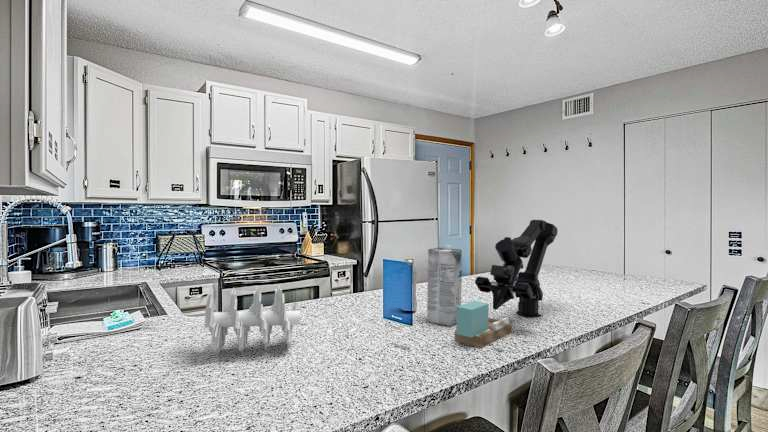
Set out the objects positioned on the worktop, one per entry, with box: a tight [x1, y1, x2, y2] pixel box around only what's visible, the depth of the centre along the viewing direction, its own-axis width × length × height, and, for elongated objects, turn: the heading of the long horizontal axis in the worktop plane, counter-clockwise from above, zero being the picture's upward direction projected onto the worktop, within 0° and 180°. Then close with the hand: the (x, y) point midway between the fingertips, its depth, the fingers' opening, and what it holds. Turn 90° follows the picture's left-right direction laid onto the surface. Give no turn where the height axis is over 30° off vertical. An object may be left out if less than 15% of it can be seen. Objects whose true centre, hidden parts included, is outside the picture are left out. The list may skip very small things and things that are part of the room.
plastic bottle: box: [404, 258, 419, 312], centre depth 152 cm, size 6×7×20 cm
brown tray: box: [454, 316, 513, 349], centre depth 124 cm, size 20×9×5 cm, turn 137°
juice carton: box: [426, 244, 463, 327], centre depth 138 cm, size 9×10×27 cm
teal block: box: [455, 300, 490, 338], centre depth 119 cm, size 10×5×8 cm, turn 137°
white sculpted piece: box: [204, 284, 301, 356], centre depth 111 cm, size 18×18×25 cm
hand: (494, 308), depth 129 cm, fingers closed
